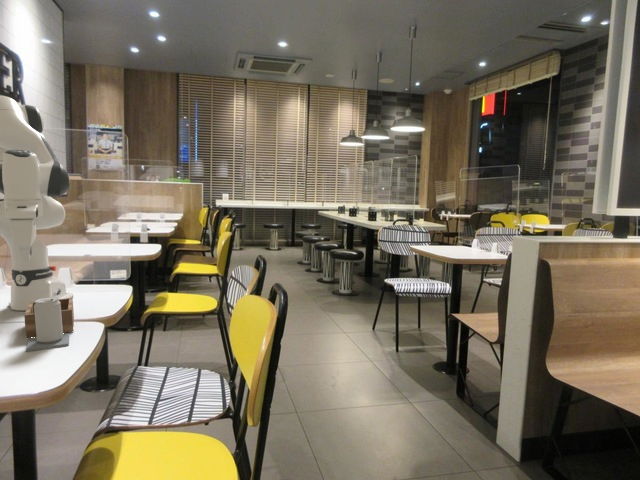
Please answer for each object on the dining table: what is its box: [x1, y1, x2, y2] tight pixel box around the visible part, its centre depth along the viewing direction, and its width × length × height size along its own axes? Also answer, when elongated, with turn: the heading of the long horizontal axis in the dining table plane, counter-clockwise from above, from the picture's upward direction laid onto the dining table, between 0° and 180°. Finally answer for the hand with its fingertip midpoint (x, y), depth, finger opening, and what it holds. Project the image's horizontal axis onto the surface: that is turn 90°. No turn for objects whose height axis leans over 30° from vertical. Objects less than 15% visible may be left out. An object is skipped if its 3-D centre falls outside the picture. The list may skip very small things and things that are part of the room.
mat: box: [25, 333, 70, 353], centre depth 125 cm, size 10×10×1 cm
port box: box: [23, 297, 75, 339], centre depth 138 cm, size 16×12×7 cm
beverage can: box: [34, 297, 63, 343], centre depth 124 cm, size 6×6×12 cm
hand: (27, 258), depth 124 cm, fingers open, 8 cm apart
